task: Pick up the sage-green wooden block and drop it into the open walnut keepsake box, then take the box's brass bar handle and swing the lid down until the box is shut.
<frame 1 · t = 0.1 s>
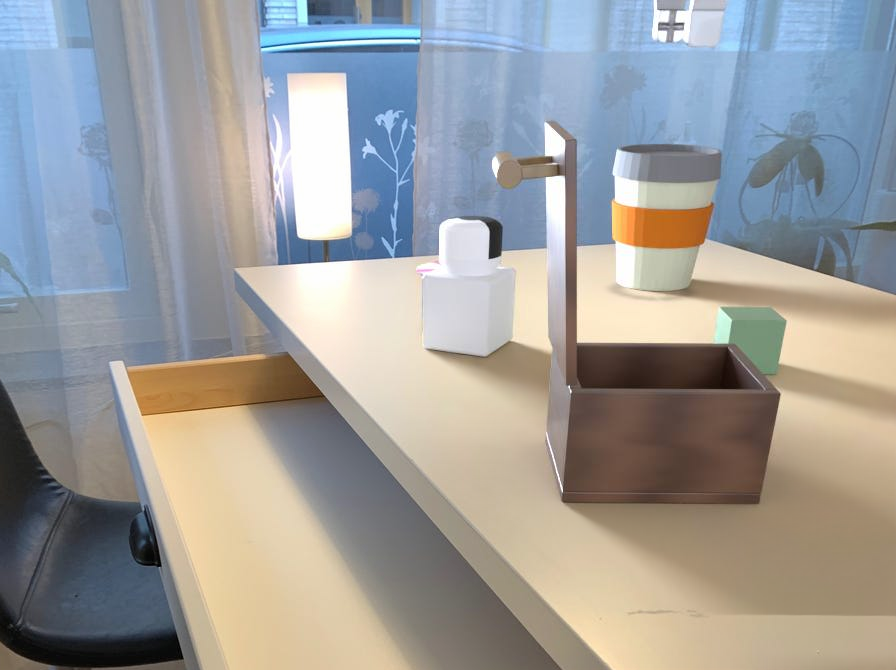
hand: (682, 44, 62), 27 cm above the table, tool pointing down, fingers open, 8 cm apart
lid: (531, 253, 67), point 15 cm above the table, hinge at 95.0°
reusable coffee cup: (652, 284, 127), on the table
medicine bottle: (467, 346, 103), on the table
box: (645, 470, 75), on the table
block: (742, 366, 97), on the table
cd: (459, 271, 132), on the table
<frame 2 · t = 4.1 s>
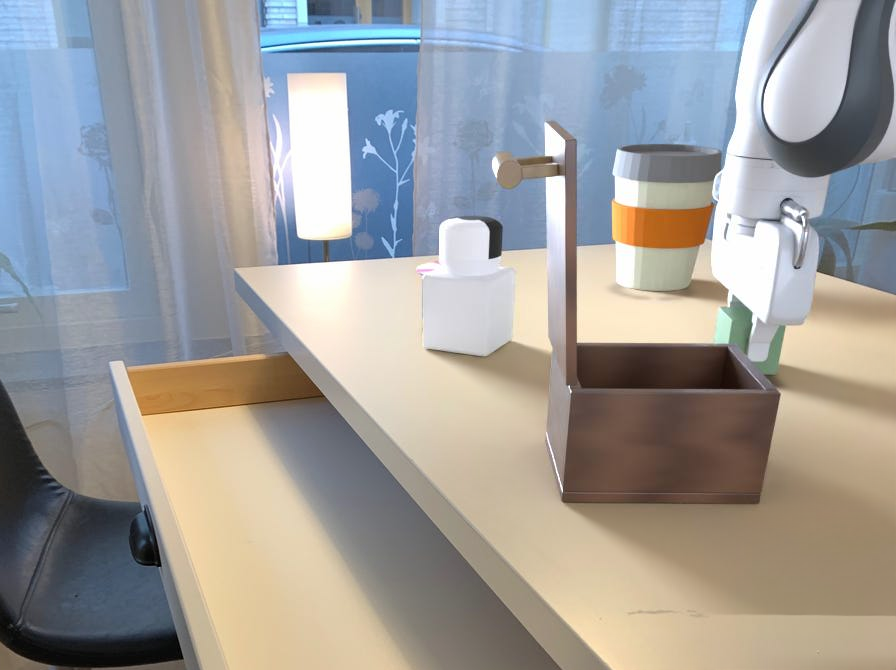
hand: (745, 349, 96), 2 cm above the table, tool pointing down, fingers closed on block, 5 cm apart
block: (742, 366, 97), on the table, touching gripper
everything else where it was.
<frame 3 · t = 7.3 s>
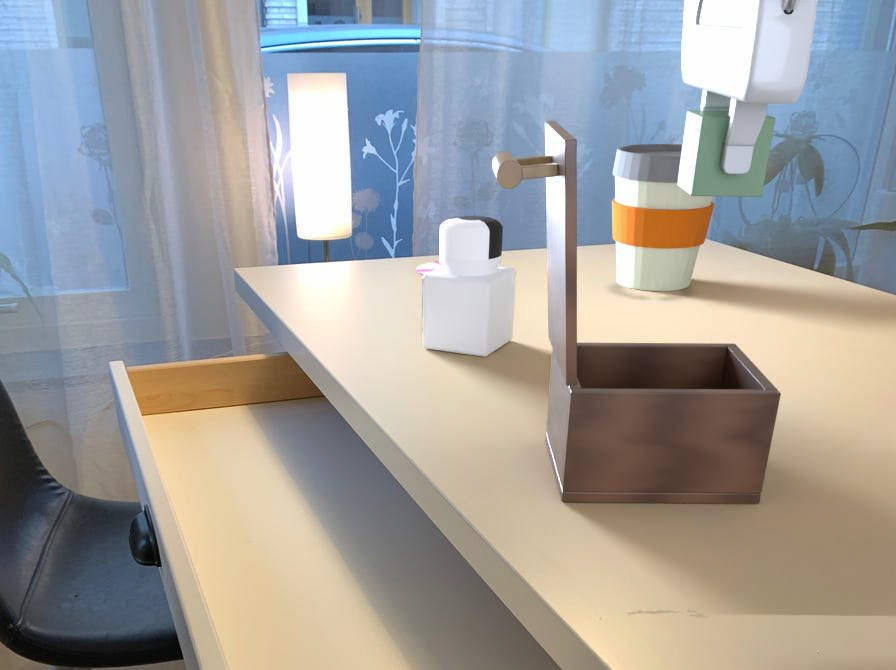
hand: (722, 166, 73), 19 cm above the table, tool pointing down, fingers closed on block, 5 cm apart
block: (718, 191, 74), point 18 cm above the table, touching gripper
everything else where it was.
when the fingers open (9 cm above the table, at t = 10.9 s): block drops 7 cm, resting on box.
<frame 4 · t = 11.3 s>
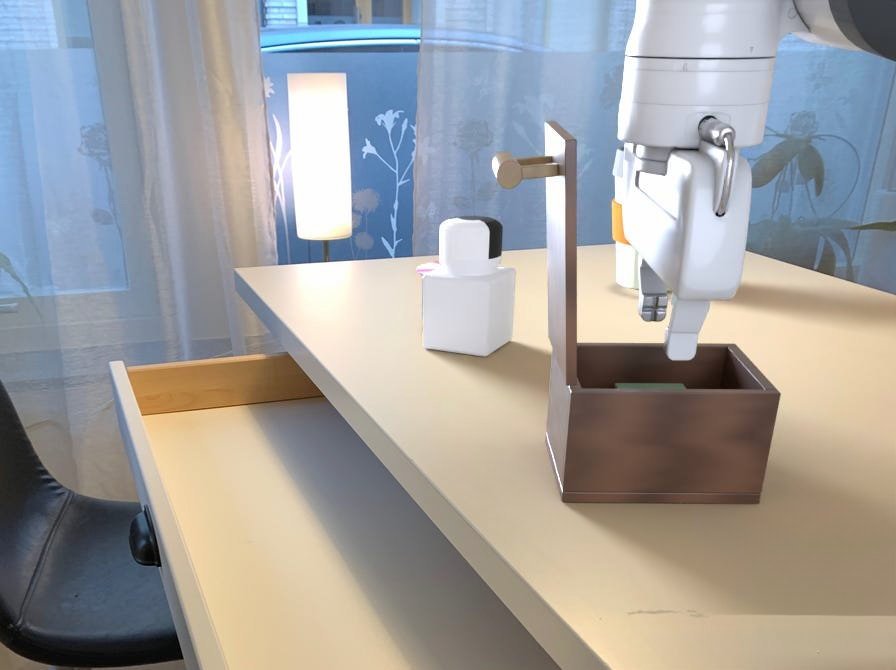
hand: (663, 337, 70), 10 cm above the table, tool pointing down, fingers open, 8 cm apart
block: (646, 460, 74), point 1 cm above the table, touching box
everything else where it was.
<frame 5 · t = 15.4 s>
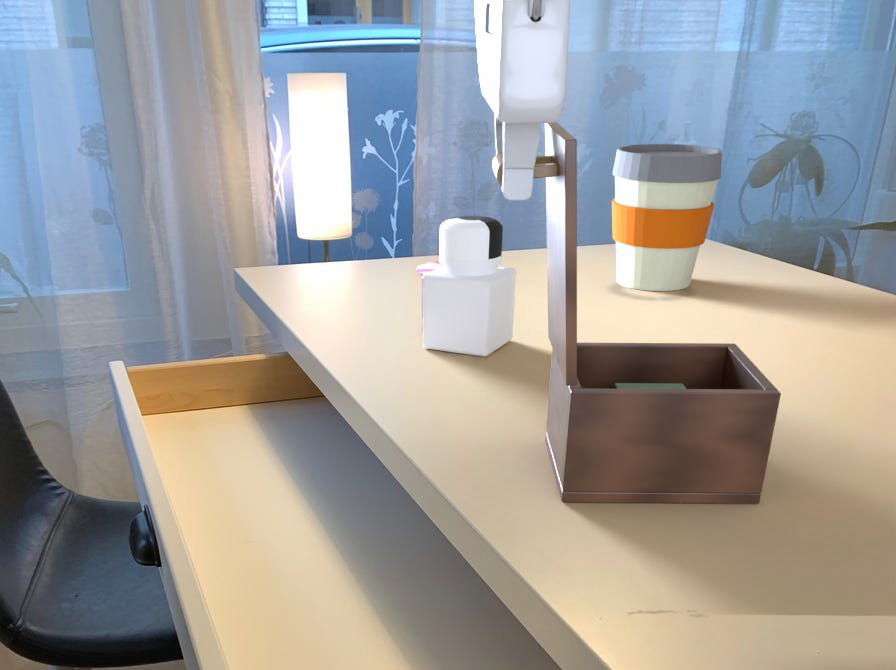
hand: (512, 190, 65), 19 cm above the table, tool pointing down, fingers closed on lid, 5 cm apart
lid: (531, 253, 67), point 15 cm above the table, hinge at 95.0°, touching gripper
everything else where it was.
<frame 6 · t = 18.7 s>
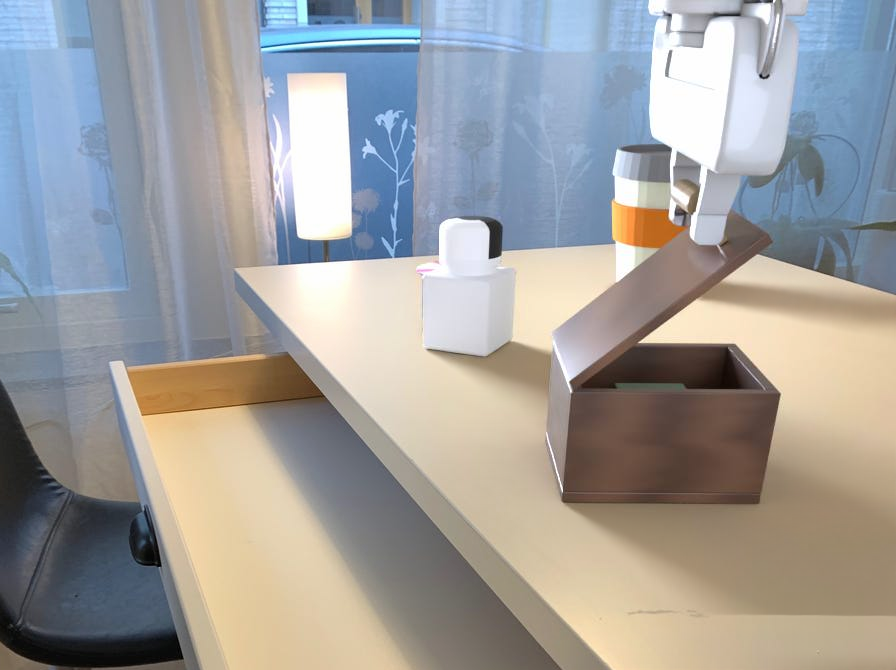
hand: (693, 233, 66), 16 cm above the table, tool pointing down, fingers closed on lid, 5 cm apart
lid: (634, 269, 67), point 14 cm above the table, hinge at 39.2°, touching gripper
everything else where it was.
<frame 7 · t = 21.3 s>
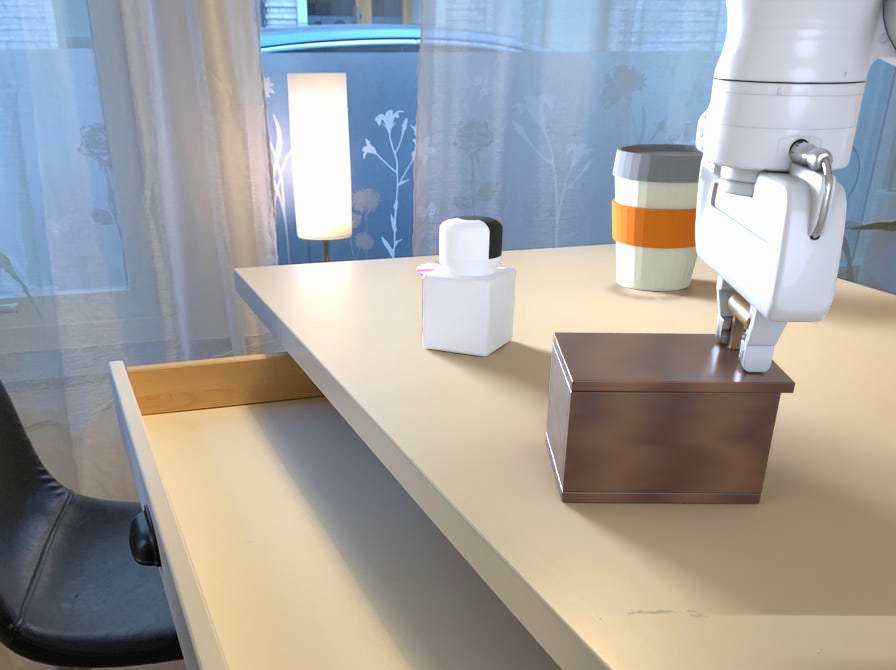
hand: (740, 355, 70), 9 cm above the table, tool pointing down, fingers open, 5 cm apart
lid: (669, 333, 70), point 10 cm above the table, hinge at -0.2°
everything else where it was.
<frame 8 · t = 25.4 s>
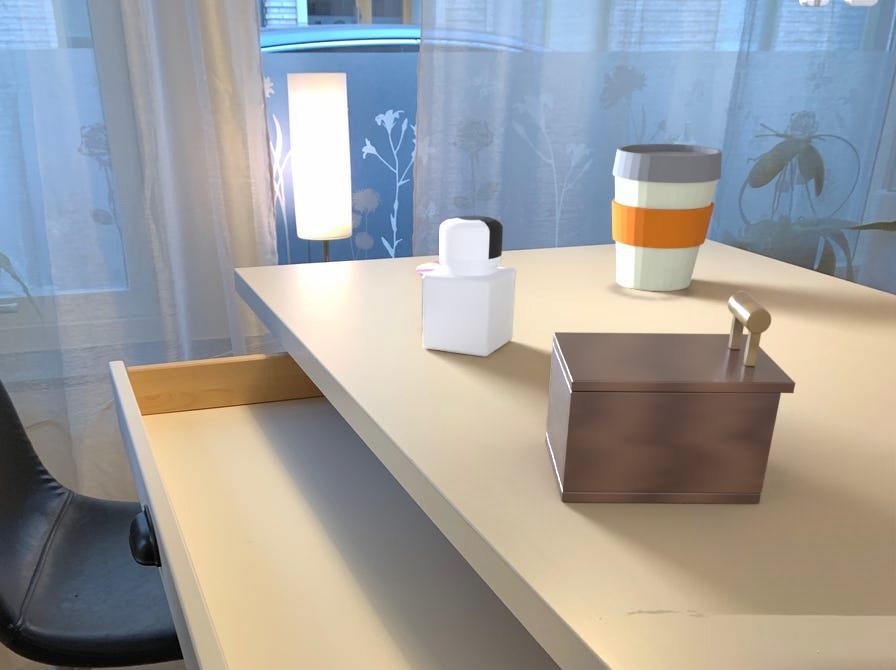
hand: (835, 6, 70), 29 cm above the table, tool pointing down, fingers open, 8 cm apart
lid: (669, 333, 70), point 10 cm above the table, hinge at -0.2°, touching box
everything else where it was.
at the end: block inside the target area in the box (0.0 cm from its centre), point 0.8 cm above the box's base; lid at +0° (first picture: +95°) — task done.
